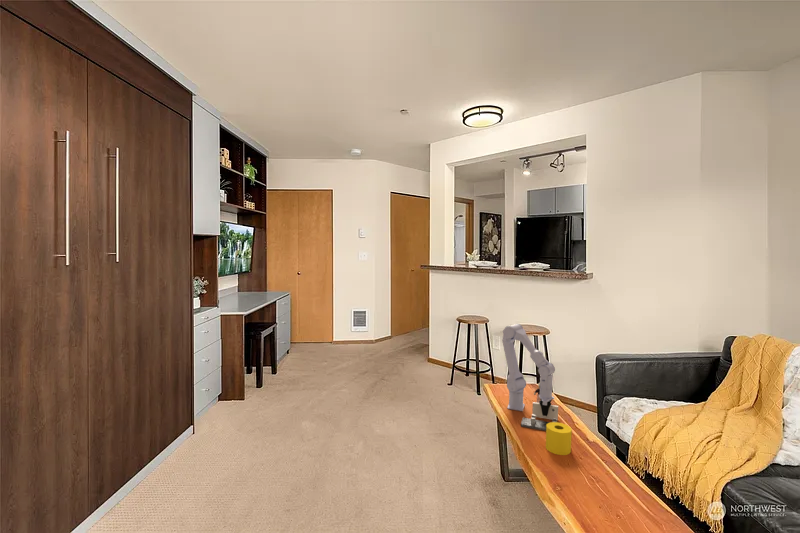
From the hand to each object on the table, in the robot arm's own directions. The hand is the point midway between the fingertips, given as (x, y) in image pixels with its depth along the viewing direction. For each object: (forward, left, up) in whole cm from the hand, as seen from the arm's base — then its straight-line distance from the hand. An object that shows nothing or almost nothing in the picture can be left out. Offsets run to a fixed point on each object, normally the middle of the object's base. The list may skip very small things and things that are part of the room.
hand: (545, 414), depth 201 cm
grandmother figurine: (-15, -3, -2) cm, 15 cm away
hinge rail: (+11, 0, -2) cm, 11 cm away
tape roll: (+30, +7, -2) cm, 31 cm away
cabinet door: (0, 0, -2) cm, 2 cm away
